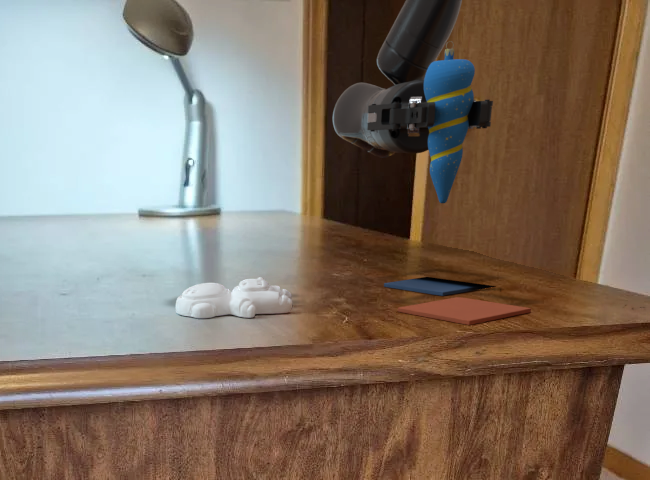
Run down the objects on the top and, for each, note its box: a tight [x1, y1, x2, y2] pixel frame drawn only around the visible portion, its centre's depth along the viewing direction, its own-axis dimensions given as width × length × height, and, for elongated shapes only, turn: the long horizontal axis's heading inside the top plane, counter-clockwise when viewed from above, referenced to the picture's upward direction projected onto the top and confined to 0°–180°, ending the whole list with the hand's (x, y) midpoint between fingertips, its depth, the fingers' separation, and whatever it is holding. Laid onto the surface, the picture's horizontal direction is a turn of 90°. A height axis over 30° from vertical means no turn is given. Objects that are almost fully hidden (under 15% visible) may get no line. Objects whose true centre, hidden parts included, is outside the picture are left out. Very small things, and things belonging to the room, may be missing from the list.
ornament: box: [424, 40, 476, 204], centre depth 82 cm, size 5×5×15 cm
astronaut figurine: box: [175, 276, 294, 319], centre depth 80 cm, size 9×12×3 cm
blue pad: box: [383, 276, 497, 297], centre depth 91 cm, size 9×9×1 cm
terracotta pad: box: [397, 296, 532, 326], centre depth 77 cm, size 9×9×1 cm
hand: (457, 113), depth 79 cm, fingers closed on ornament, 5 cm apart
